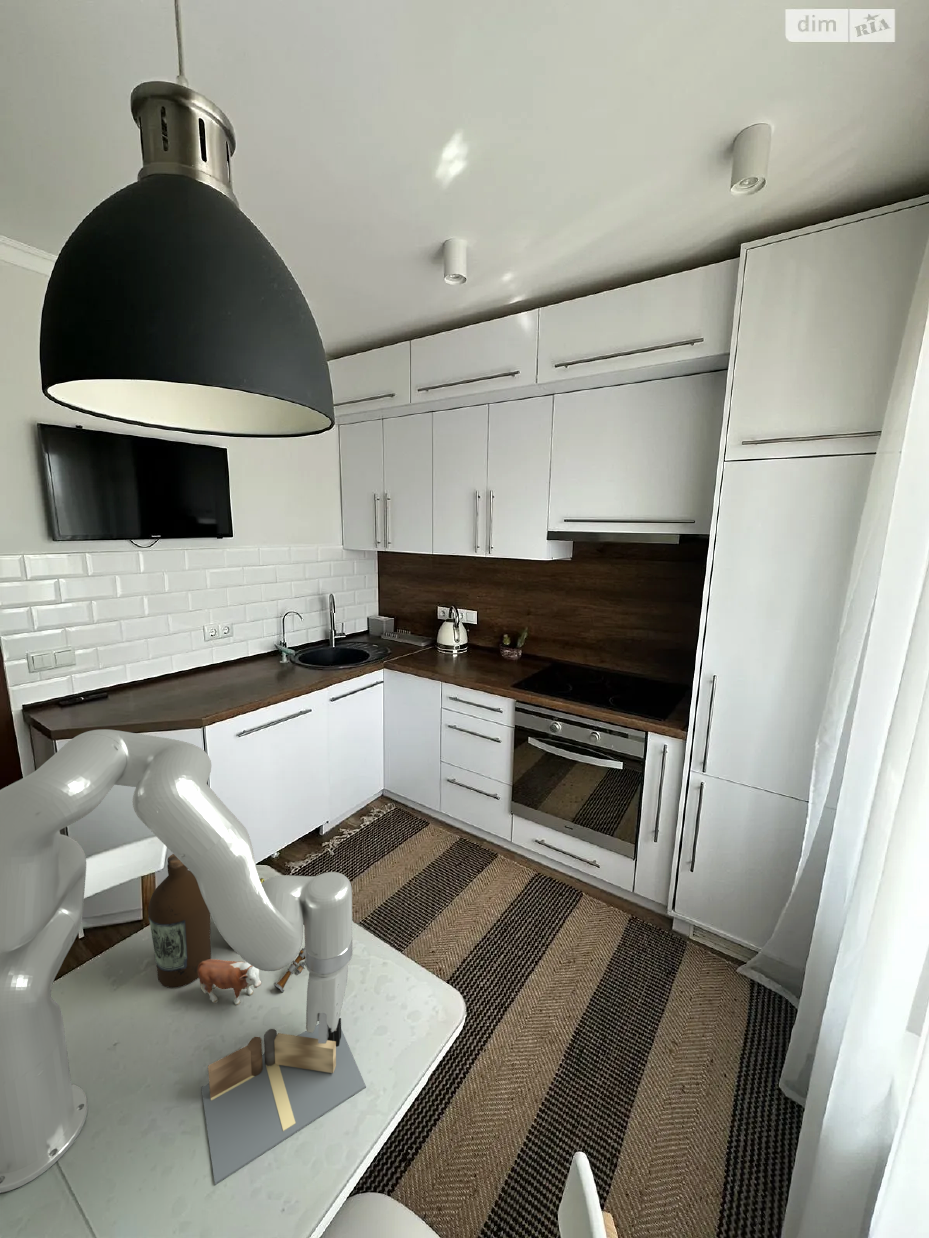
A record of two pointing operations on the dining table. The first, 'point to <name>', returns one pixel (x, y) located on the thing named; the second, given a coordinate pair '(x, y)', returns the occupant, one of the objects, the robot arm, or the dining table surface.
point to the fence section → (236, 1067)
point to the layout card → (274, 1107)
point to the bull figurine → (227, 977)
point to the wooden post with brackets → (292, 970)
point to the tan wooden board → (299, 1052)
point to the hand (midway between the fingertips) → (330, 1041)
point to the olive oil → (179, 926)
